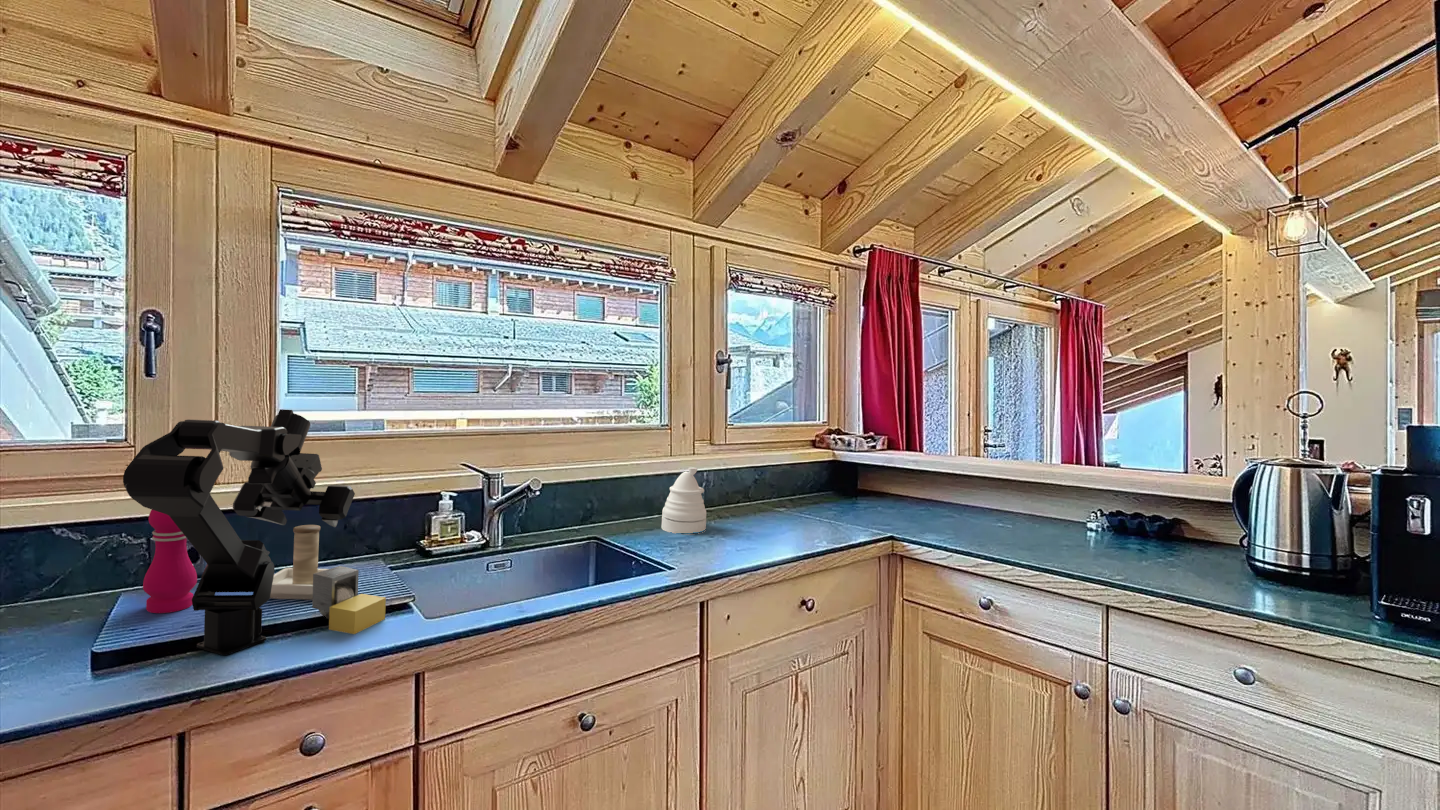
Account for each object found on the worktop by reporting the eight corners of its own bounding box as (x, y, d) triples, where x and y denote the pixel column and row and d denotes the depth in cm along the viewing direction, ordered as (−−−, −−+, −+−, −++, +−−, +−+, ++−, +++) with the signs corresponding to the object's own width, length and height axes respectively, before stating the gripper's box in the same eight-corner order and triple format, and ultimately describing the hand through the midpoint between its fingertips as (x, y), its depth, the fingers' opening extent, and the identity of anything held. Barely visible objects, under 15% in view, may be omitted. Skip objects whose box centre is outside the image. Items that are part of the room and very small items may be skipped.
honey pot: (714, 528, 195) (718, 468, 194) (688, 536, 184) (692, 472, 183) (678, 521, 202) (682, 462, 201) (652, 528, 191) (655, 466, 190)
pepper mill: (166, 617, 111) (167, 498, 110) (131, 611, 112) (132, 494, 111) (207, 602, 118) (209, 491, 117) (174, 597, 120) (175, 487, 118)
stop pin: (300, 590, 124) (303, 531, 124) (285, 585, 126) (287, 527, 125) (323, 583, 128) (325, 527, 128) (308, 579, 130) (310, 523, 129)
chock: (354, 635, 109) (355, 611, 109) (328, 630, 110) (329, 607, 110) (384, 620, 116) (385, 597, 116) (360, 615, 117) (361, 593, 117)
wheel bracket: (334, 625, 112) (335, 579, 112) (308, 618, 114) (309, 573, 114) (360, 614, 117) (362, 570, 117) (335, 608, 119) (336, 565, 119)
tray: (325, 599, 123) (325, 586, 123) (255, 598, 122) (256, 584, 121) (349, 581, 133) (350, 569, 133) (285, 580, 132) (285, 567, 131)
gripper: (352, 443, 123) (374, 490, 134) (243, 438, 121) (276, 486, 132) (330, 494, 115) (356, 539, 127) (214, 489, 113) (251, 536, 125)
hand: (310, 523), depth 128 cm, fingers open, 9 cm apart
